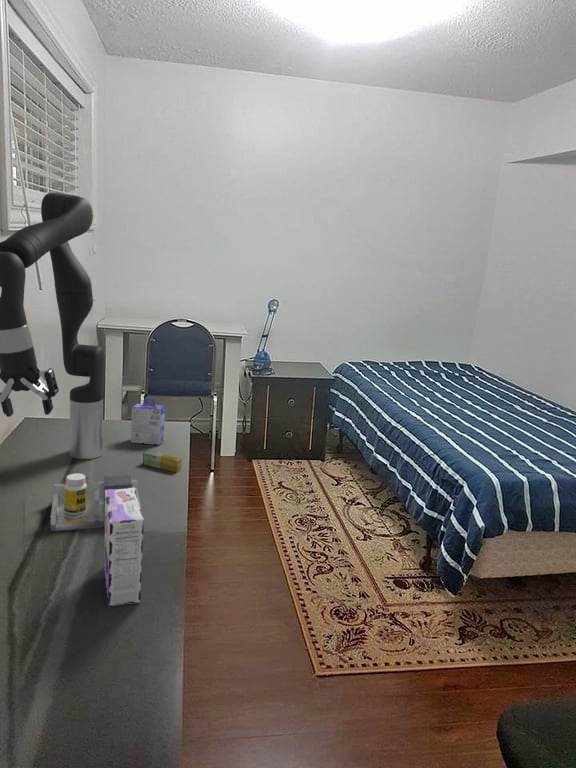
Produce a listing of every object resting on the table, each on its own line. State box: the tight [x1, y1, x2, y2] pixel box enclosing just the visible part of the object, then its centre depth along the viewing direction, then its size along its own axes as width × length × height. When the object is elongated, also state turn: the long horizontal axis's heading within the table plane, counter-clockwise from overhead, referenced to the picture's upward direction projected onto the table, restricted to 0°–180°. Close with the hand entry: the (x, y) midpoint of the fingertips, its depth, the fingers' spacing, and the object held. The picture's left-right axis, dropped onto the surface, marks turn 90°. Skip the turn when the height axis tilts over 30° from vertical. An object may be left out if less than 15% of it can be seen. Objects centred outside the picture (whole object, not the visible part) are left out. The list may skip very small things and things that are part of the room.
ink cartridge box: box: [130, 397, 166, 446], centre depth 178 cm, size 10×6×14 cm, turn 89°
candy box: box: [103, 487, 145, 607], centre depth 100 cm, size 14×6×16 cm, turn 21°
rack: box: [50, 474, 142, 532], centre depth 127 cm, size 14×19×8 cm
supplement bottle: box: [64, 472, 87, 515], centre depth 124 cm, size 5×5×8 cm
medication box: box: [142, 449, 183, 473], centre depth 159 cm, size 12×3×4 cm, turn 68°
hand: (29, 414), depth 123 cm, fingers open, 8 cm apart
